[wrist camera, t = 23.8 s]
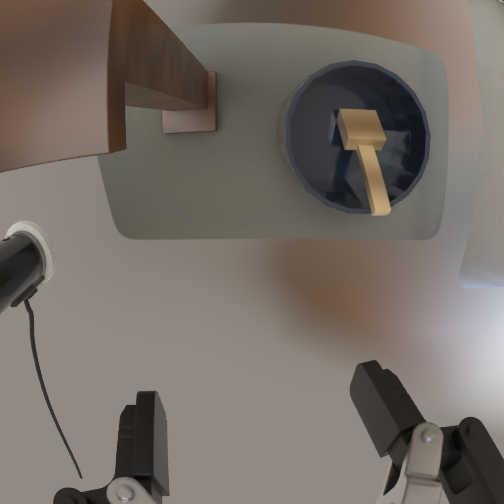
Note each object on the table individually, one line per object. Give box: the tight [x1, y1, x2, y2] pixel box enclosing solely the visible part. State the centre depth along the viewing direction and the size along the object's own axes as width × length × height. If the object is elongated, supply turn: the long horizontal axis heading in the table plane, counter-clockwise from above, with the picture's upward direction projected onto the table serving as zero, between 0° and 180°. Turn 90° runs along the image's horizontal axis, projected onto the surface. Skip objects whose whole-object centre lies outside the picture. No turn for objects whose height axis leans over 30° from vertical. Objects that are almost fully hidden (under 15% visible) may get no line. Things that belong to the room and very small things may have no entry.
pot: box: [278, 60, 430, 214], centre depth 34 cm, size 17×17×9 cm
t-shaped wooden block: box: [337, 109, 391, 216], centre depth 33 cm, size 14×5×2 cm
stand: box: [0, 0, 217, 173], centre depth 22 cm, size 8×7×32 cm
